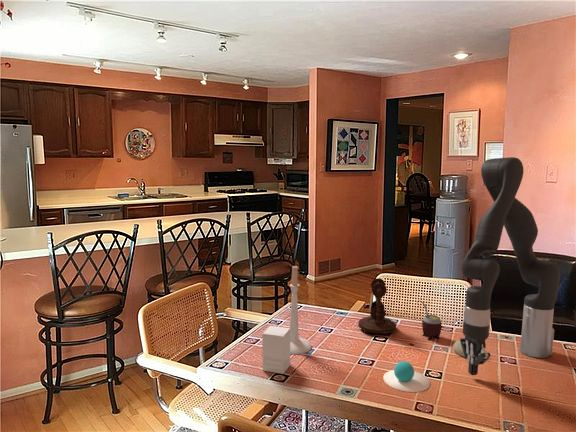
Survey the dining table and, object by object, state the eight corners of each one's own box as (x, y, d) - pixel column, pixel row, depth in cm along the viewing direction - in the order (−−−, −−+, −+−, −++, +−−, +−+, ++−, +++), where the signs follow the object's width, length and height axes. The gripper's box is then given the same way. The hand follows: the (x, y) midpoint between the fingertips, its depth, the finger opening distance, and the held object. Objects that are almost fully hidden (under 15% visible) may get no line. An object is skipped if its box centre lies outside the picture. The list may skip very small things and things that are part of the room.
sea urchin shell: (487, 355, 158) (470, 338, 158) (468, 369, 160) (452, 352, 160) (481, 344, 167) (465, 328, 167) (464, 357, 169) (448, 341, 169)
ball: (409, 357, 146) (391, 359, 145) (417, 364, 140) (398, 366, 139) (409, 376, 146) (391, 377, 146) (417, 384, 140) (398, 385, 140)
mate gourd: (442, 336, 178) (445, 298, 176) (437, 343, 172) (439, 304, 170) (423, 332, 182) (425, 295, 180) (417, 338, 176) (419, 300, 174)
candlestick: (270, 350, 164) (270, 267, 159) (284, 337, 175) (285, 259, 171) (304, 356, 159) (305, 271, 155) (316, 342, 171) (318, 263, 166)
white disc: (416, 368, 152) (416, 367, 152) (438, 389, 138) (438, 389, 138) (376, 371, 149) (376, 371, 149) (395, 394, 135) (395, 393, 135)
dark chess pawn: (357, 321, 192) (359, 274, 190) (394, 324, 190) (396, 276, 188) (358, 335, 178) (360, 285, 175) (397, 338, 176) (400, 287, 173)
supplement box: (290, 364, 153) (291, 328, 151) (283, 374, 146) (283, 336, 144) (270, 361, 155) (270, 324, 154) (261, 370, 149) (261, 333, 147)
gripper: (501, 328, 137) (496, 383, 139) (474, 312, 150) (471, 363, 152) (478, 329, 135) (474, 385, 138) (453, 314, 148) (450, 365, 151)
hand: (472, 373), depth 145 cm, fingers closed
